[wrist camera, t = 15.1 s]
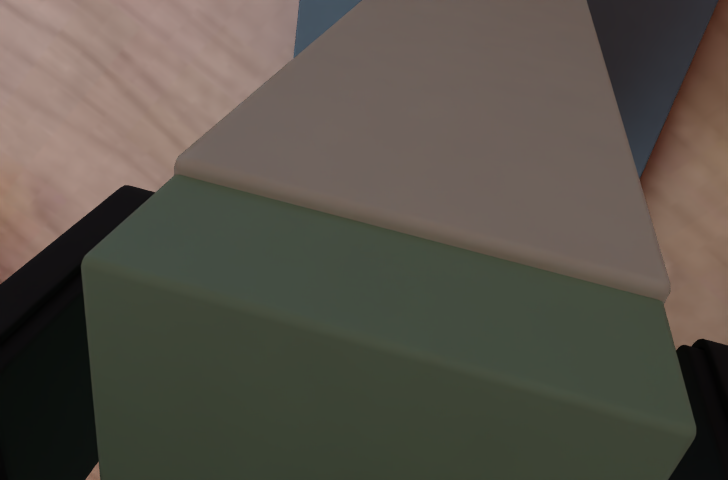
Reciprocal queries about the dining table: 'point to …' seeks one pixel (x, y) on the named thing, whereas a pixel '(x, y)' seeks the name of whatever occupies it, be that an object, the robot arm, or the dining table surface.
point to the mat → (604, 54)
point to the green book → (397, 270)
